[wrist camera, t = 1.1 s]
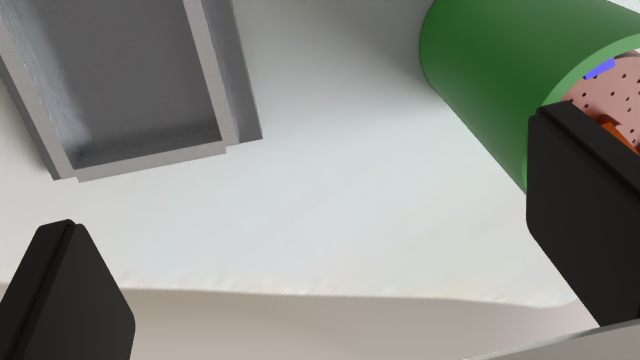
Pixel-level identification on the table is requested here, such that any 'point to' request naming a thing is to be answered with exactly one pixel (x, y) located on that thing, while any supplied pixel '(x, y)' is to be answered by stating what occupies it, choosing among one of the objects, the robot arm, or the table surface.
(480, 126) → the motor
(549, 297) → the table surface
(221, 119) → the cradle
